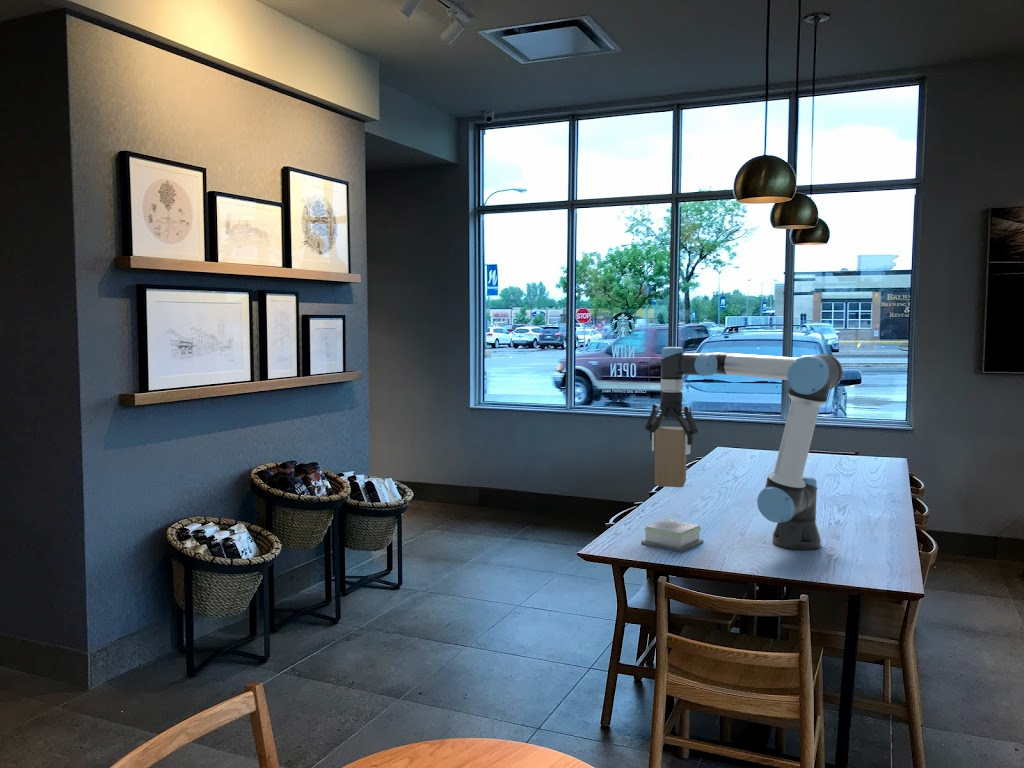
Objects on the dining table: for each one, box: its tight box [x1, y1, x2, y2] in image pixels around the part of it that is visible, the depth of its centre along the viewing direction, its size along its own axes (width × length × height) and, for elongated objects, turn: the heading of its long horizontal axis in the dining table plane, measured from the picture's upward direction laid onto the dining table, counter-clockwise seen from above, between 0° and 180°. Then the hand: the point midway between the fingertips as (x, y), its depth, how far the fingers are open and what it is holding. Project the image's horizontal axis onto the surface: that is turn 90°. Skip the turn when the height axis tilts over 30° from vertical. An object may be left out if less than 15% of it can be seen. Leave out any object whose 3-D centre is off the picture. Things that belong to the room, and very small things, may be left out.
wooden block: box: [654, 426, 687, 488], centre depth 281 cm, size 10×10×20 cm
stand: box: [640, 518, 704, 553], centre depth 268 cm, size 15×15×6 cm
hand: (670, 452), depth 281 cm, fingers closed on wooden block, 12 cm apart
